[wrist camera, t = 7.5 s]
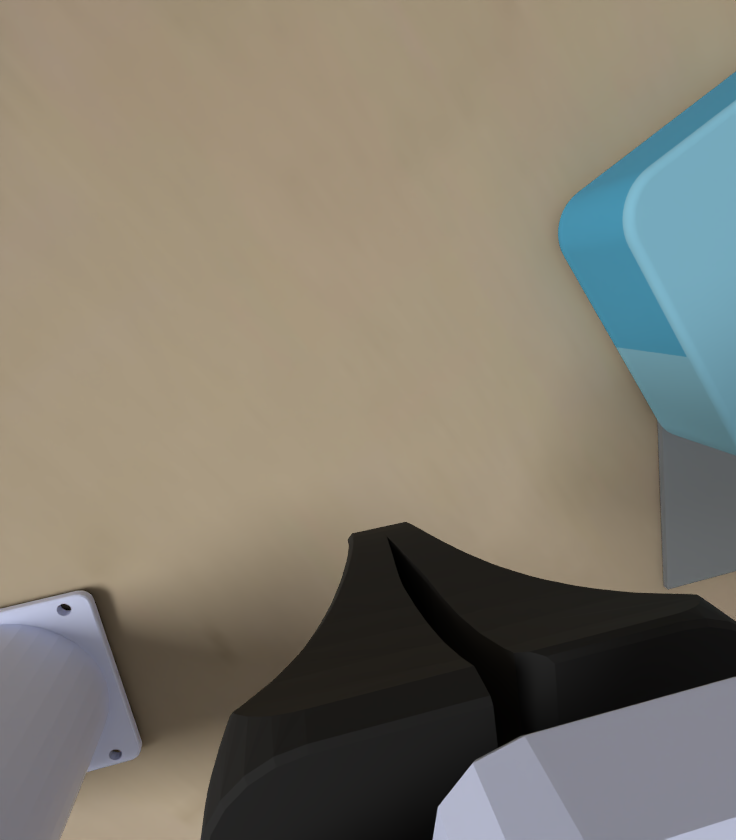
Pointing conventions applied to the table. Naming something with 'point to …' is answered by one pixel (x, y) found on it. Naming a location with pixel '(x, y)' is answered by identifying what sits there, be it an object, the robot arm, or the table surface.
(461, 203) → the table surface
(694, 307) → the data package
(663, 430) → the mat
